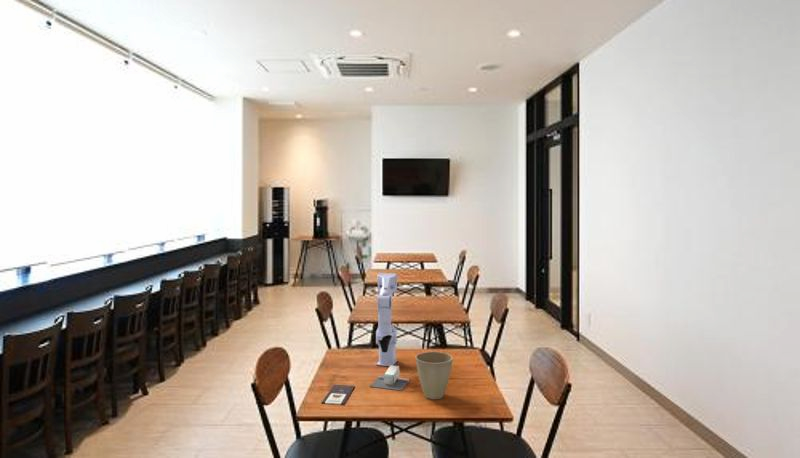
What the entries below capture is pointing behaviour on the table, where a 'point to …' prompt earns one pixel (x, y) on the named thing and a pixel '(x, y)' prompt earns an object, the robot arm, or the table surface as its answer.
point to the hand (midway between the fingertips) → (384, 351)
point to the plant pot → (434, 373)
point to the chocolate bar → (338, 394)
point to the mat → (397, 385)
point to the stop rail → (396, 379)
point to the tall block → (391, 375)
